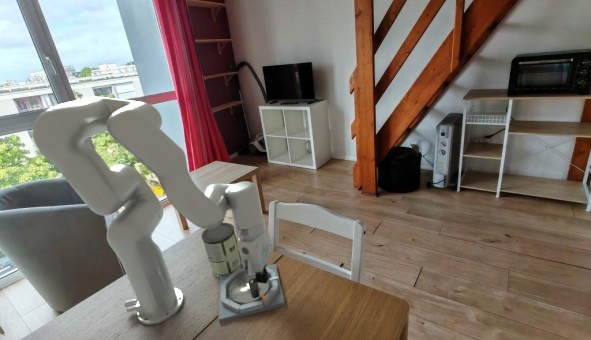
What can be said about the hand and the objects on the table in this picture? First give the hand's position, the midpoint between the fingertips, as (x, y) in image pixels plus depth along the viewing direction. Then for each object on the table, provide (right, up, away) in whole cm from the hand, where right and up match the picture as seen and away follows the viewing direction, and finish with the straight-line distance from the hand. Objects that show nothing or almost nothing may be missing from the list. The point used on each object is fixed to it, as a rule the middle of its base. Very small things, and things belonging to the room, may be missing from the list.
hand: (262, 280), depth 85 cm
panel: (-4, -4, +3) cm, 7 cm away
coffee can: (-14, -1, +15) cm, 20 cm away
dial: (-4, -3, +2) cm, 6 cm away
